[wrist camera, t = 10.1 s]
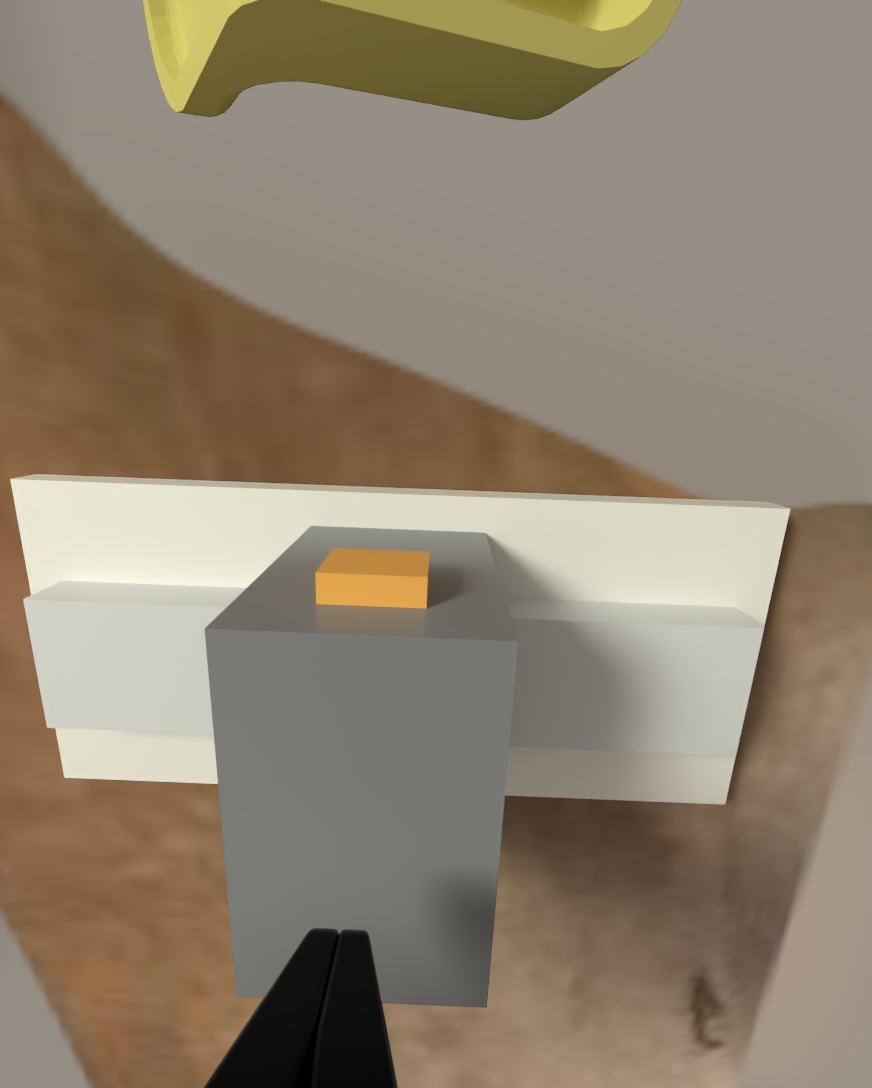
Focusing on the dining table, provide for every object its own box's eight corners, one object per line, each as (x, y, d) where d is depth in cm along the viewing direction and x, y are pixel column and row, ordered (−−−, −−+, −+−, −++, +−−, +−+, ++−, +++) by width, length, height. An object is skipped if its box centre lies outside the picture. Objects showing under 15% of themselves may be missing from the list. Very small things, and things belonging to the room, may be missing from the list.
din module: (470, 769, 17) (486, 1007, 11) (317, 762, 17) (236, 996, 11) (486, 511, 15) (521, 606, 8) (310, 505, 15) (200, 593, 8)
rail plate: (710, 783, 18) (750, 841, 16) (84, 757, 19) (30, 811, 16) (769, 502, 16) (828, 521, 13) (36, 474, 16) (-37, 487, 13)
